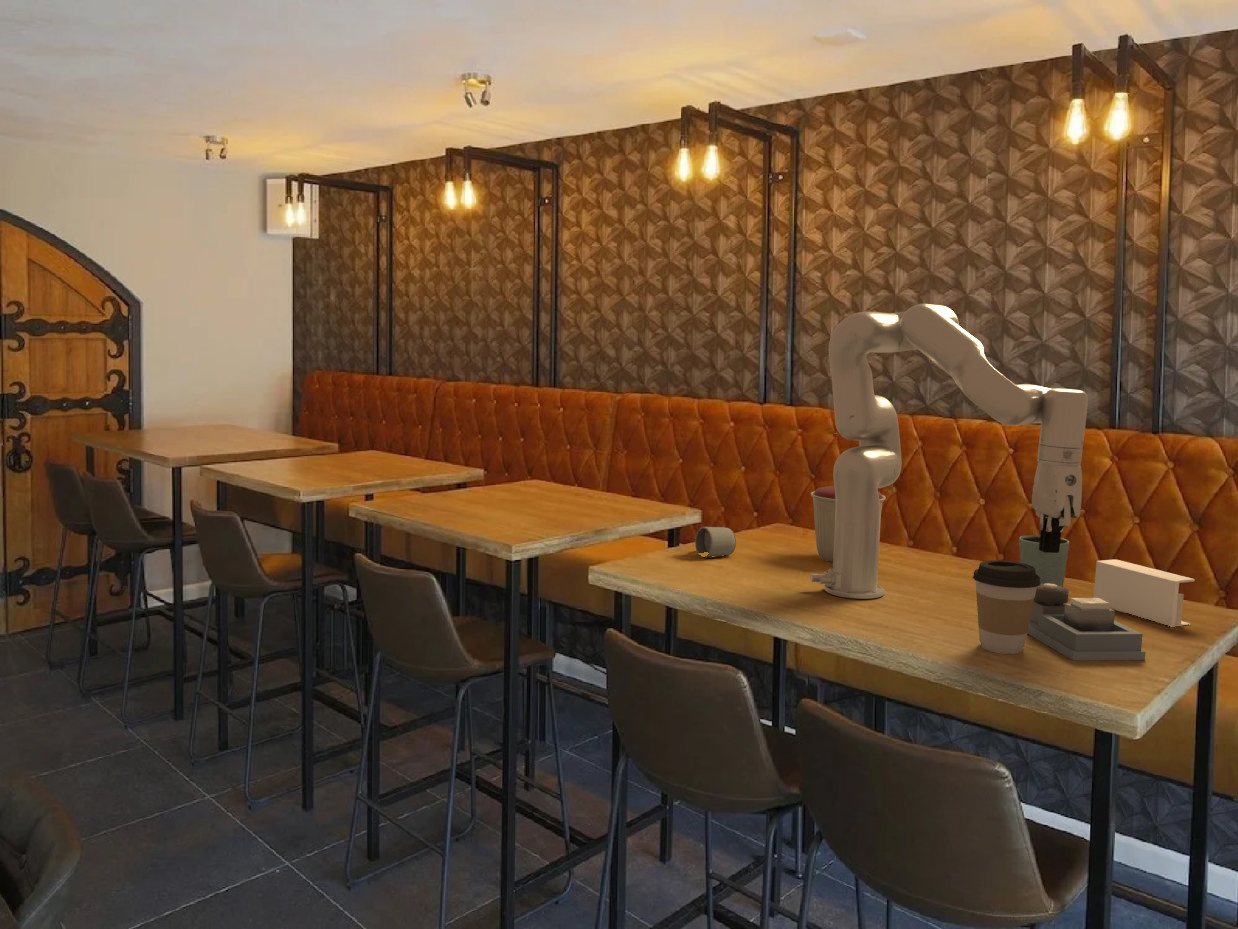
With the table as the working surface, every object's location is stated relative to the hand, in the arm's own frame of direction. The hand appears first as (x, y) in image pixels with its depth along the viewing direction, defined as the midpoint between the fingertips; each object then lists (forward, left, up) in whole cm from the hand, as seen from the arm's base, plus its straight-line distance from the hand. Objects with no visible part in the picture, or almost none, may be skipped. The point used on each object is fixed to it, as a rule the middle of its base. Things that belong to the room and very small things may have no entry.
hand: (1048, 551), depth 190 cm
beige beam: (+26, +12, -16) cm, 33 cm away
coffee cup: (-13, -11, -16) cm, 23 cm away
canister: (-19, +61, -16) cm, 66 cm away
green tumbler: (+15, +29, -16) cm, 36 cm away
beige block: (+2, -11, -14) cm, 18 cm away
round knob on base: (+1, -1, -13) cm, 13 cm away
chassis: (+3, -7, -15) cm, 17 cm away
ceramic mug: (-52, +66, -16) cm, 86 cm away
